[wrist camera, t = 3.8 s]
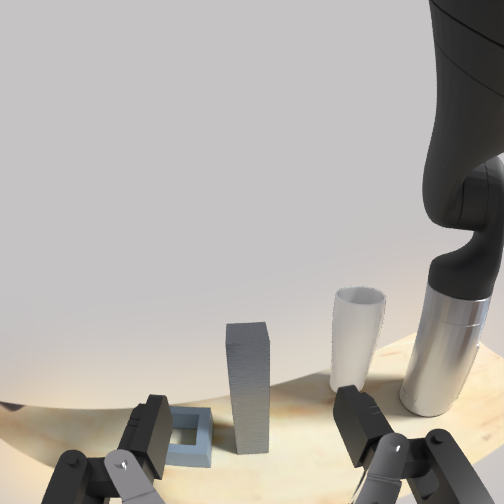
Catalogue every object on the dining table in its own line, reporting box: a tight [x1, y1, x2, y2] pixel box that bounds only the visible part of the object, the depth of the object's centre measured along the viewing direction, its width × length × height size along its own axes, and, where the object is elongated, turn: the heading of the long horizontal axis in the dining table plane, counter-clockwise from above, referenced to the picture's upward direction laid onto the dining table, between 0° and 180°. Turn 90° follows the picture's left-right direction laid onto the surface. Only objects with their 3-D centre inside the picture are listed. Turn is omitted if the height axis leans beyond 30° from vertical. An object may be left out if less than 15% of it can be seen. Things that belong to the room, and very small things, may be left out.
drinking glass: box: [330, 286, 386, 393], centre depth 33 cm, size 7×7×15 cm
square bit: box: [226, 322, 270, 454], centre depth 24 cm, size 4×4×16 cm
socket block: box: [165, 406, 213, 468], centre depth 25 cm, size 8×8×3 cm
